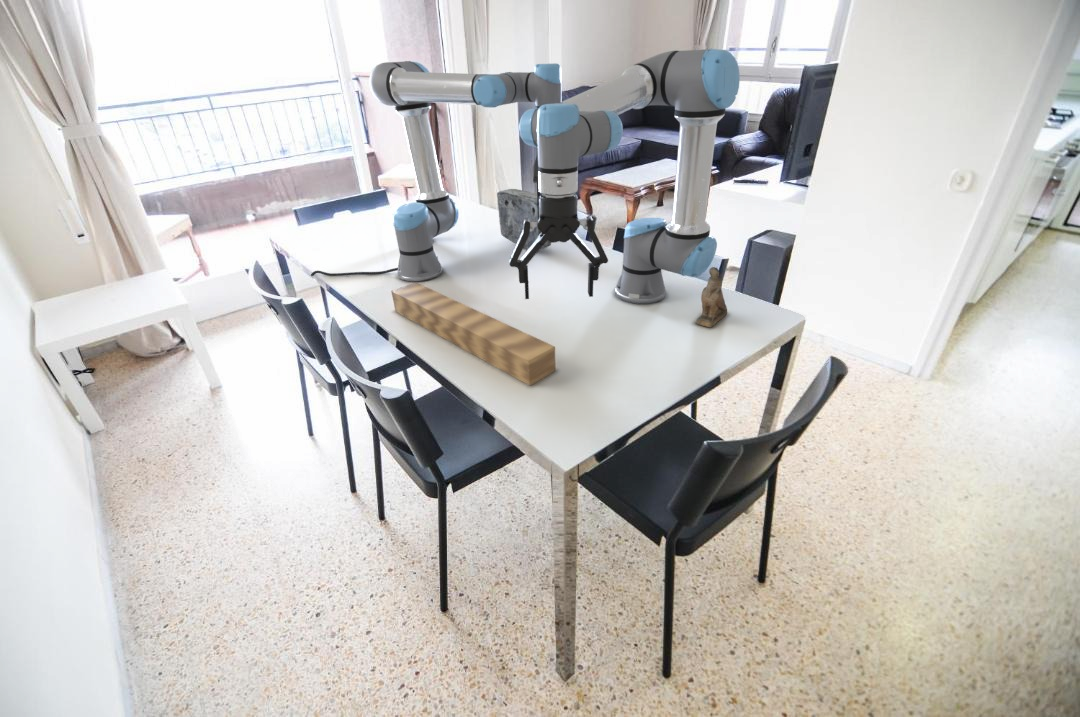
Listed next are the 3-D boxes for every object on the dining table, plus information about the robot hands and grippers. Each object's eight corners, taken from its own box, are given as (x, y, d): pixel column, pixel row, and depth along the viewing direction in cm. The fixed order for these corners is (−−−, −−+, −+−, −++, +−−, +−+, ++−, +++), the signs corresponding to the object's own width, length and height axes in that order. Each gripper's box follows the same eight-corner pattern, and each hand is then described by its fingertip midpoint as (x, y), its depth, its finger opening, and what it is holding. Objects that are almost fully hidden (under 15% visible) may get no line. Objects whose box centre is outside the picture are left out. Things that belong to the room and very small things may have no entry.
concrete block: (556, 252, 190) (555, 199, 179) (537, 257, 186) (535, 203, 175) (517, 236, 209) (515, 187, 198) (500, 240, 204) (496, 190, 194)
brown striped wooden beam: (395, 311, 151) (391, 290, 147) (419, 302, 156) (415, 282, 152) (529, 385, 114) (528, 360, 111) (555, 370, 119) (554, 346, 116)
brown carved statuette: (709, 335, 136) (713, 280, 124) (691, 329, 139) (693, 274, 128) (730, 313, 142) (736, 258, 130) (712, 307, 145) (716, 253, 133)
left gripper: (544, 131, 133) (546, 210, 145) (575, 120, 153) (574, 190, 164) (519, 130, 136) (523, 208, 147) (552, 119, 156) (553, 189, 167)
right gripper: (492, 200, 92) (500, 304, 103) (626, 196, 93) (619, 300, 104) (494, 191, 98) (501, 290, 109) (619, 187, 99) (613, 286, 110)
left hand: (550, 199), depth 156 cm, fingers open, 13 cm apart
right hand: (558, 295), depth 106 cm, fingers open, 13 cm apart
